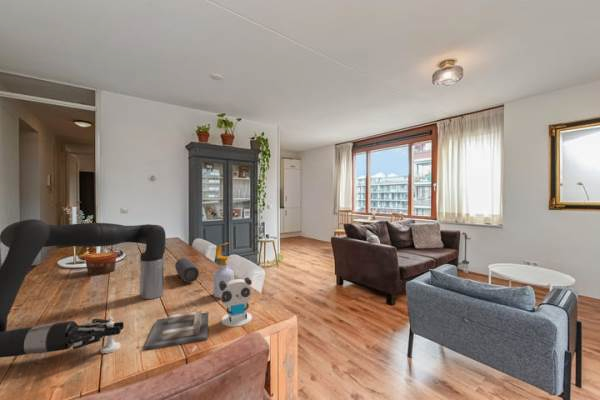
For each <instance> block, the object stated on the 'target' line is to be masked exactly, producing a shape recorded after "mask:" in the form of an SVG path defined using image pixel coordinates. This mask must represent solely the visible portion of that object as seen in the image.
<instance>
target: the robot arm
mask: <svg viewBox="0 0 600 400" xmlns="http://www.w3.org/2000/svg"><path fill="white" fill-rule="evenodd" d="M0 242H1V243H2V244H3V245H4V246H5V247H7V248H8V251H7V254H6V256H5V259H4V260H3V262H2V264H1V266H0V358H9V357H11V358H12V357H19V356H25V355H34V354H35V355H36V354H37V355H39V354H45V353H51V352H59V351H65V350H69V349H71V348H72V349H73V350H76V349H79V348H83V347H85V346H89V345H91V344H96V343H98V342H100V340H101V339H104V338H105V337H108V336H110V335H113V336H116V335H120V334H121V330H124V327H125V325H124V323H125V322H123V321H119V322H114V325H113V327H109V328H107V325H106V324H107V323H108V322H109V320H107V319H102V318H92V320H91V322H90V323H89V322H87V323H83V324H80V325H78V324H77V322H76V321H75V320H70V321H69V320H68V321H61V322H53V323H46V324H42V325H36V326H30V327H29V326H28V327H21V328H20V327H19V328H16V329H12V330H7V327H8V317H9V314H10V312H11V311H12V308H13V305H14V303H15V301H16V299H17V297H18V294H19V292H20V289H21V288H22V284H23V283H24V281H25V278H26V276H27V275H28V273H29V271H30V269H31V267H32V266H33V264H34V262H35V260H36V258H37V257H38V256H39V253H40V252H41V250H43V248H46V247H78V248H81V247H84V248H85V247H86V248H87V247H88V248H89V247H90V248H93V247H94V248H95V247H96V248H98V247H110V246H115V245H119V244H125V243H135V244H143V245H145V251H144V252H141V254H140V256H139V257H140V262H139V263H140V275H139V296H140V298H141V299H142V300H152V299H157V298H160V297H162V296H163V295H164V292H165V291H164V289H165V288H164V286H165V285H164V254H165V252H166V230H165V228H164V227H163V226H161V225H160V224H159V225H158V224H149V223H148V224H139V225H123V224H118V223H108V222H85V223H84V222H83V223H73V224H57V225H55V224H47V223H46V222H45V221H42V220H41V219H37V218H36V219H33V218H31V219H30V218H29V219H24V220H19V221H17V222H14V223H11V224H8V225H7V226H6V227H4V228H3V230H2V231H1V232H0Z"/></svg>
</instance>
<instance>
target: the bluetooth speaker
mask: <svg viewBox="0 0 600 400" xmlns="http://www.w3.org/2000/svg"><path fill="white" fill-rule="evenodd" d="M174 265H175V266H174V267H175V271H176V273H177V275H178V276H179V277H180V279H182V280H183V281H184V282H185V283H193V282H195V281H196V280H197V279H198V277H199V275H200V273H199V272H200V271H199V269H198V268H197V266H196V264H195V263H193V262H192V261H191V260H190V259H189V258H186V257H181V258H178V260H177V261H176V262H175V264H174Z"/></svg>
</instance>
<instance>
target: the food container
mask: <svg viewBox="0 0 600 400" xmlns="http://www.w3.org/2000/svg"><path fill="white" fill-rule="evenodd" d="M117 257H118V253H116V252H114V251H109V252H108V251H107V252H106V251H104V252H97V253H92V254H88V255H86V256H85V257H84V259H83V260H84V261H85V264H86V271H87V274H88V275H89V276H101V275H100V274H103V275H106V273H107V274H111V273H113V272H114V271H115V270H116V262H117ZM110 272H111V273H110Z"/></svg>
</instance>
